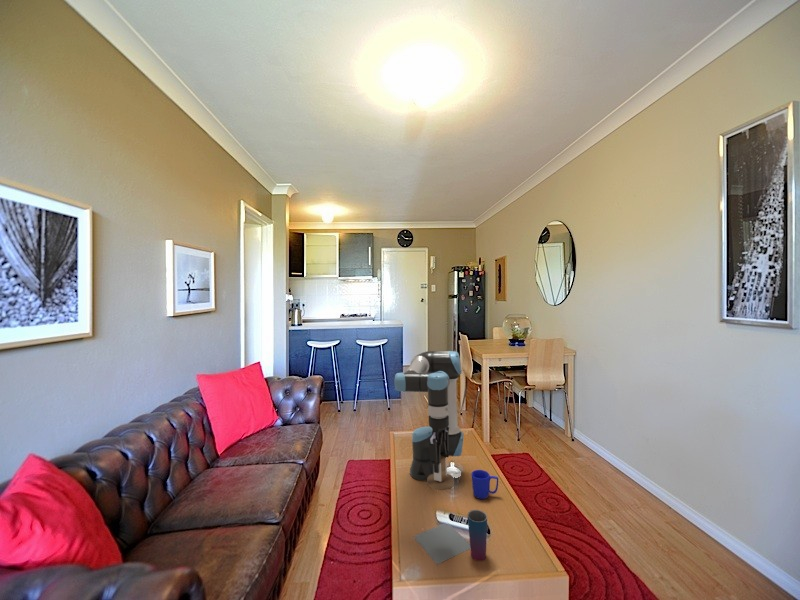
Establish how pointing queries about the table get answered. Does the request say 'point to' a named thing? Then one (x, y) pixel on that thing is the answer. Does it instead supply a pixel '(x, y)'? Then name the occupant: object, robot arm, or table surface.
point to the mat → (442, 543)
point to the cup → (477, 534)
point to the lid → (446, 479)
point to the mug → (482, 483)
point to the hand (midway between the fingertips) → (440, 477)
